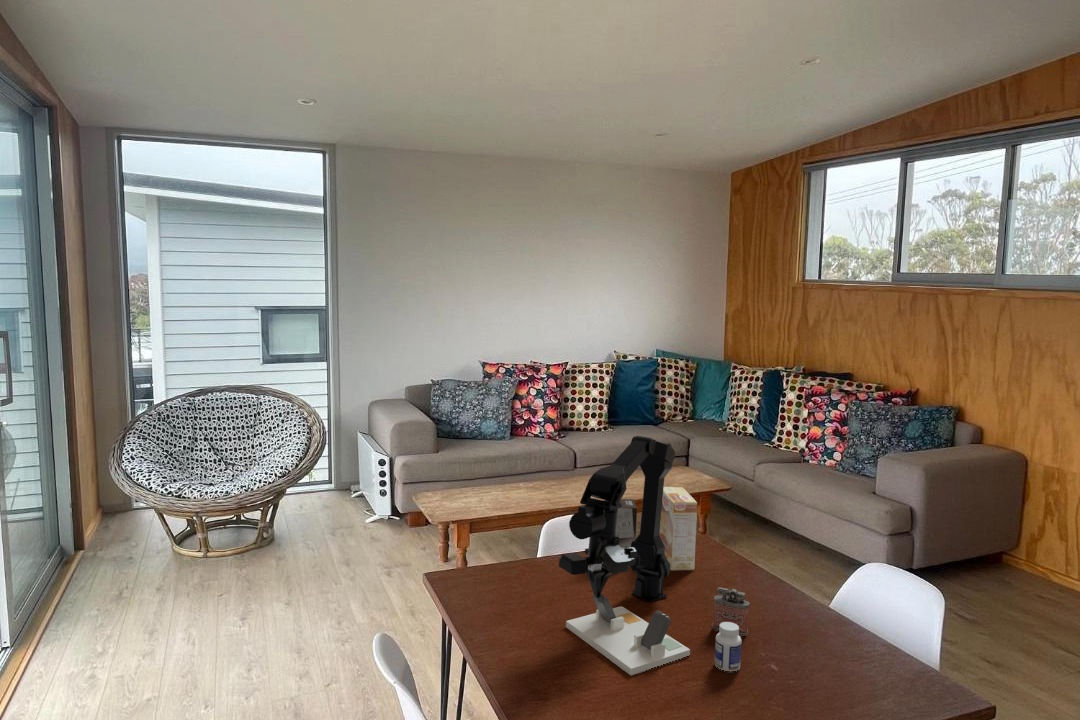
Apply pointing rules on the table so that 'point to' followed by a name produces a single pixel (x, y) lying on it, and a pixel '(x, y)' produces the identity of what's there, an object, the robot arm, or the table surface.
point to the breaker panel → (630, 639)
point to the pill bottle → (728, 647)
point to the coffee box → (626, 522)
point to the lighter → (731, 609)
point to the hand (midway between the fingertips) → (596, 597)
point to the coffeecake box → (678, 527)
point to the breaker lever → (604, 608)
